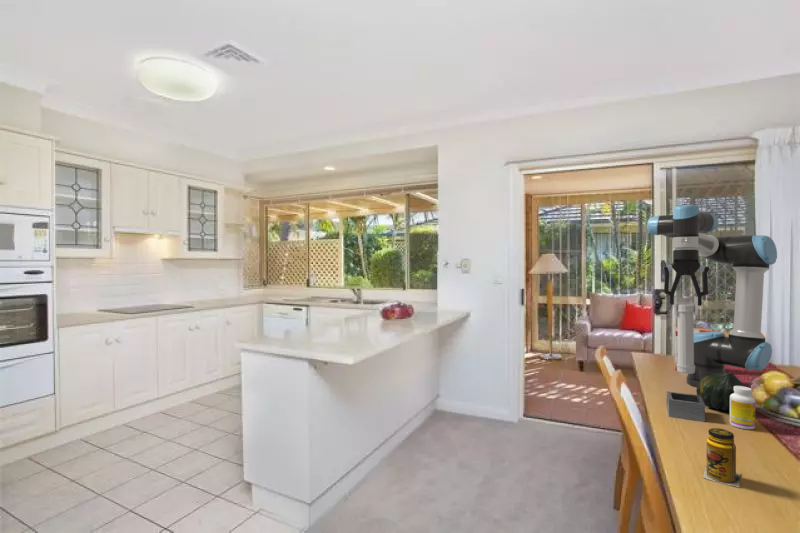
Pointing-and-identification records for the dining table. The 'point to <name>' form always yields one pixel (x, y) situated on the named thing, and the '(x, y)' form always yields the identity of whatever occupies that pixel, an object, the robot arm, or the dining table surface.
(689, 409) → the collar
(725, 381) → the squash
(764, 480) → the dining table surface
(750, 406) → the supplement bottle
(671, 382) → the dining table surface
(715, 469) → the condiment
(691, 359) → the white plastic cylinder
